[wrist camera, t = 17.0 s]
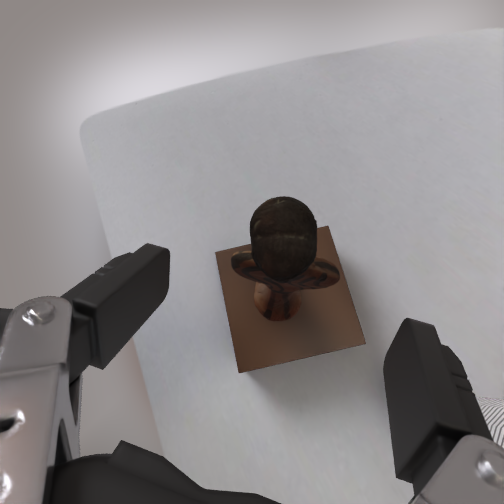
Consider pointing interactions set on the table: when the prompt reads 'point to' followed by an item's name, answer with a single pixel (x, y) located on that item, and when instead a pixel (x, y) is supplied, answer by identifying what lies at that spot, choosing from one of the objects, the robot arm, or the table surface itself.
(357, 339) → the walnut block
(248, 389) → the table surface
